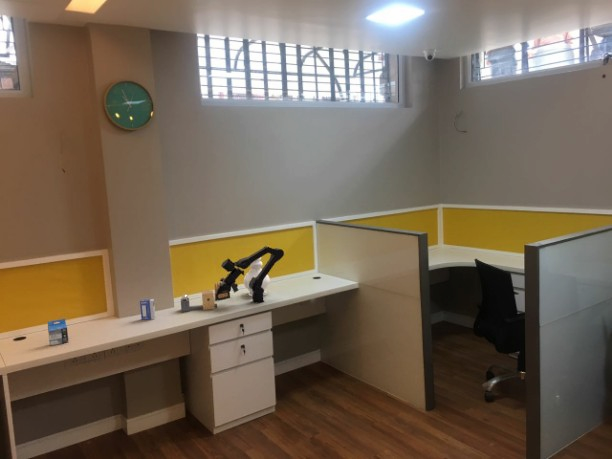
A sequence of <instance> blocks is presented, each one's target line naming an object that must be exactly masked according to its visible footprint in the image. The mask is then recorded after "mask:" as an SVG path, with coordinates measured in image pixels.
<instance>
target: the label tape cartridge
mask: <svg viewBox="0 0 612 459" xmlns="http://www.w3.org/2000/svg"><path fill="white" fill-rule="evenodd" d="M47 332H48V341H49V346H50V347H51V346H57V345H62V344H67V343H69V336H68V335H69V334H68V333H69V332H68V327H67V323H66V318H62V319H61V318H59V319H55V320H51V321H47Z"/></svg>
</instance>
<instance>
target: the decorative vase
mask: <svg viewBox="0 0 612 459" xmlns="http://www.w3.org/2000/svg"><path fill="white" fill-rule="evenodd" d="M261 260H262V257H260V258H259V259H257V260H255V261H254V262H253V263H252V264H251V265H250V266H249V267H250V269H249V270H248V271H247V273H246V274H245V275H244V279H243V285H244V286H245V288H246V289H247V290H248V291H249V293H248V294H247V295H248V296H250V297H252V294H253V291H252V289H250V288H249V283H250V282H249V281H251V279H252V277H254V278H255V277H257V276H258V274H259V273H260V272H261V270H262V269H263V268H262V267H263V261H261ZM270 283H271V278H270V276H269V275H268V274H267V275H266V277H265V278H264V280H263V283H262V286H261V287H262V288H263V289H264V293H263V297H264V296H266V295H267V291H266V290H267V289H268V287H269V285H270Z"/></svg>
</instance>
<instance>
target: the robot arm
mask: <svg viewBox="0 0 612 459" xmlns="http://www.w3.org/2000/svg"><path fill="white" fill-rule="evenodd" d="M267 254H270V256H269V259H268V260H267V262H266V264H264V266H262V268H261V269H262V270H261V272H260V273H259V274H258V276H257V277H255V278H254V277H252V279H251V281H249V282H250V283H249V288H250V289H252V291H253V294H252V296H251V297H252V298H251V300H252V302H253V303H255V304H257V303H264V302H265V300H264V296H263V293H264V289H263V288H262V287H261V286H262V283H263V280H264V278H265V277H266V275H268V274H269V273H270V272H271V270H272V268H273V267H274V265H276V263H277V262H279V261H280V260H281V259H282V258H283V257H284V256H285V252H284V250H283V249H281V248H278V247H275V248H272V247H269V246H266V245H265V246H264V247H262V248H260V249H259V250H257V251H256V252H254V253H252V254H250V255H249V256H245V257H243V258H239V259H238V260H237V261H234V262H233V261H232V260H231V259H230V258H227V259H225V260H224V261H223V262H222V263H221V265H220V267H221V268H223V269H224V270H225V271H226V272H228V273H227V275H226V276H225V277H221V278H220V279H219V283H220V282H221V283H220V284H219V283H218V284H219V287H218V290H217V293H216V295H219V294H220V293H222V292H223V291H228V292H230V293H231V290H232V291H233V293H234V294H235V293H237V292H238V291H239V285H238V283H236V280H238V278H239V277H240V276H241V275H242V276H245V270H246V269H248V268H249V267H250V265H251V264H252V263H253V262H254V261H255V260H257V259H259V258H262V257H263V256H265V255H267Z"/></svg>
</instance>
